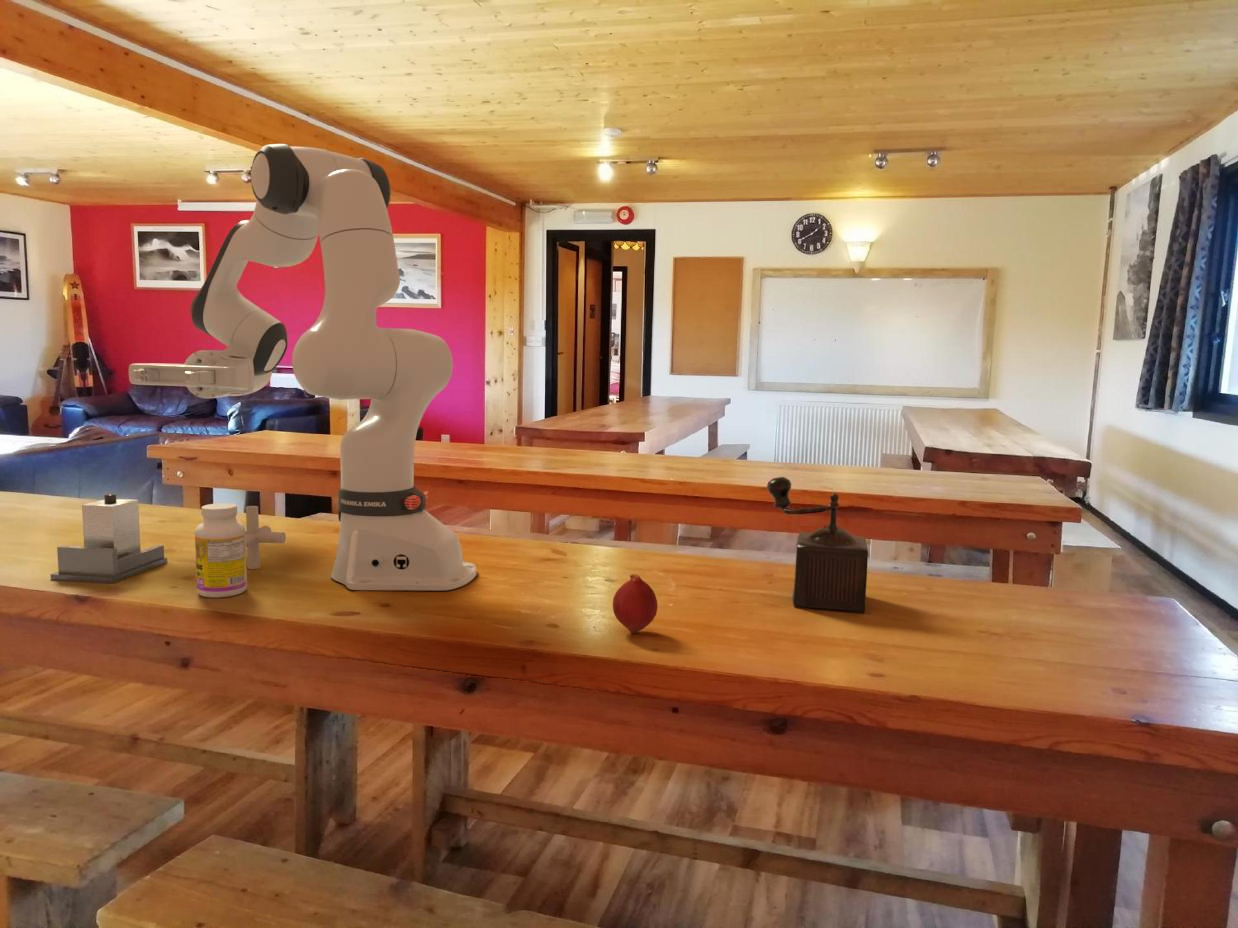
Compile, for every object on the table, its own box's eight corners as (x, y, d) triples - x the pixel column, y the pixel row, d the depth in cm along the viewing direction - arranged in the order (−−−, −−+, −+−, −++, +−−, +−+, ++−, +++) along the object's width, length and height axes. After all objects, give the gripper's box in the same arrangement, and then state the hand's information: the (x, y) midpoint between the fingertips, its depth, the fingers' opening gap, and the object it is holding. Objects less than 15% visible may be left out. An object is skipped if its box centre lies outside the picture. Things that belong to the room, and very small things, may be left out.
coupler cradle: (167, 562, 142) (166, 533, 141) (112, 583, 129) (110, 551, 129) (110, 558, 143) (109, 530, 142) (50, 579, 130) (49, 548, 130)
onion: (631, 622, 118) (632, 565, 117) (665, 632, 114) (667, 573, 113) (603, 632, 113) (604, 573, 112) (637, 643, 110) (639, 581, 109)
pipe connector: (271, 576, 135) (269, 513, 134) (208, 574, 135) (205, 511, 134) (296, 561, 145) (295, 502, 144) (237, 559, 145) (235, 500, 144)
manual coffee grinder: (862, 594, 135) (870, 480, 133) (866, 614, 125) (874, 491, 122) (762, 585, 139) (767, 474, 136) (757, 604, 128) (763, 484, 126)
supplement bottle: (201, 587, 128) (197, 502, 127) (249, 585, 130) (246, 501, 129) (193, 600, 122) (190, 510, 120) (244, 597, 124) (241, 509, 122)
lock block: (141, 561, 139) (137, 492, 138) (115, 570, 133) (111, 498, 132) (112, 559, 140) (108, 491, 138) (85, 568, 134) (81, 497, 132)
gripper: (156, 355, 161) (104, 356, 147) (260, 358, 159) (217, 359, 145) (158, 389, 162) (106, 393, 148) (261, 393, 160) (219, 397, 146)
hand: (162, 376), depth 147 cm, fingers open, 8 cm apart
